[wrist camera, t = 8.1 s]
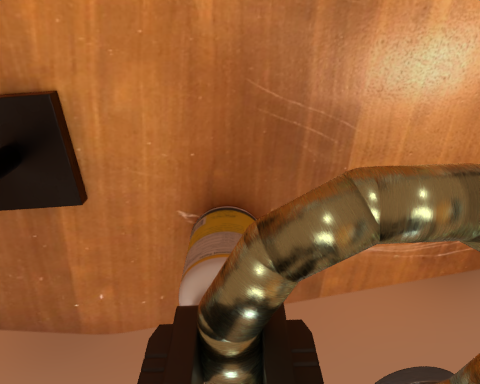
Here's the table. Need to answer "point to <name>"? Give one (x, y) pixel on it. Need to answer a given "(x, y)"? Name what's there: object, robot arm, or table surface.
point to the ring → (329, 252)
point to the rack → (36, 154)
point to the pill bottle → (210, 249)
